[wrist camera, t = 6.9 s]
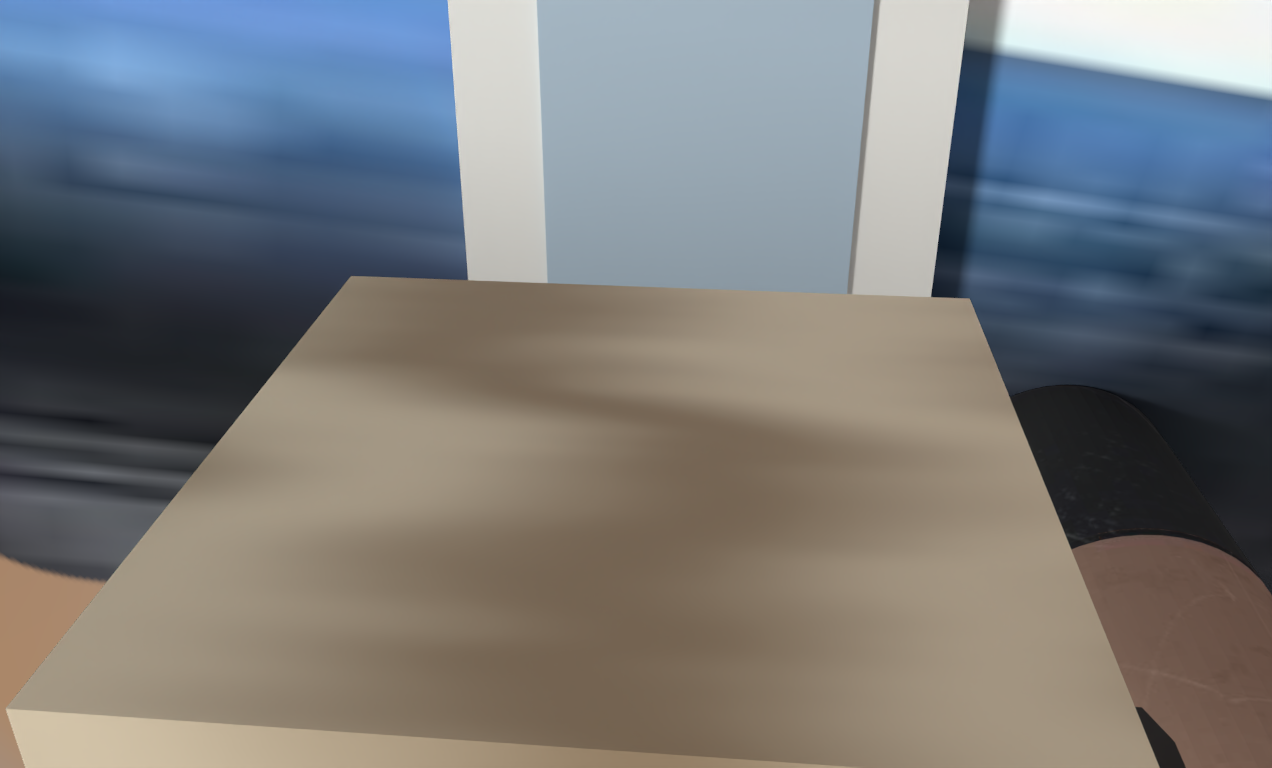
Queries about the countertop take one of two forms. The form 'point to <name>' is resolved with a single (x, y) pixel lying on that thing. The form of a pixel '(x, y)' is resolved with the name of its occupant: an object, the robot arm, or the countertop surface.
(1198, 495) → the travel mug
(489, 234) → the white flat square slab
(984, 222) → the countertop surface
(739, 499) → the wooden cube
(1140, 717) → the robot arm
